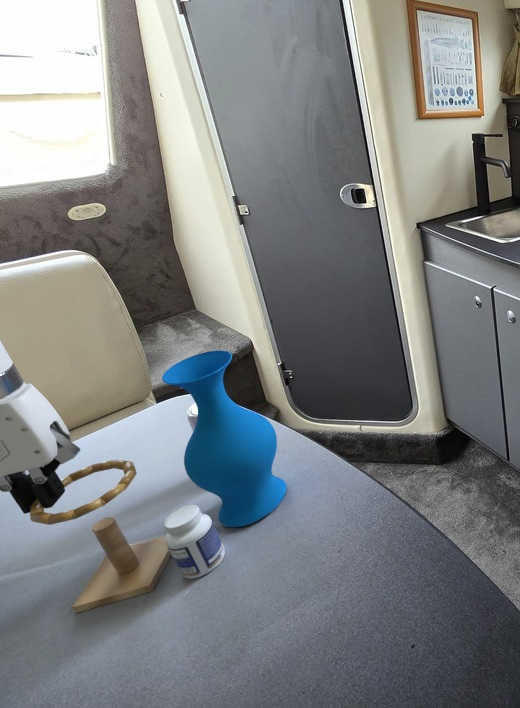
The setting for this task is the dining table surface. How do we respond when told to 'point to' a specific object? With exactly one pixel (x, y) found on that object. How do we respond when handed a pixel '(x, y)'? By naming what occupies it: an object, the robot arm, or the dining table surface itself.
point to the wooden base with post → (122, 567)
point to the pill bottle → (193, 541)
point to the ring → (49, 519)
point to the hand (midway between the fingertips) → (45, 501)
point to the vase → (227, 443)
